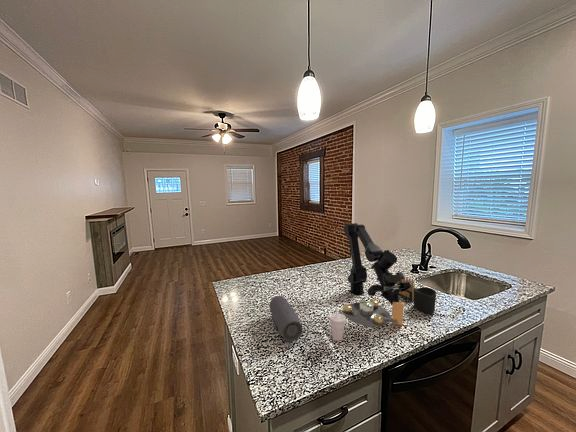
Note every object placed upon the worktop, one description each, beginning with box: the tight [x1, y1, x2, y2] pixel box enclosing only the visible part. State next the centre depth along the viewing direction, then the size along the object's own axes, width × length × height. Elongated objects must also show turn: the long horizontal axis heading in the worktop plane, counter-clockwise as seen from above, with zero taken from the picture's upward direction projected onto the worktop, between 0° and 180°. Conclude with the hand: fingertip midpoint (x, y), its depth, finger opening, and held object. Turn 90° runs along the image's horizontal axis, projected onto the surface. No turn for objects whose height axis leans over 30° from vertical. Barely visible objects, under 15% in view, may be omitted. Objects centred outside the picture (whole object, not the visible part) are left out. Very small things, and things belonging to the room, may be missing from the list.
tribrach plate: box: [342, 299, 392, 327], centre depth 113 cm, size 21×21×6 cm
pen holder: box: [412, 286, 437, 316], centre depth 117 cm, size 9×9×10 cm
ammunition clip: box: [396, 274, 415, 302], centre depth 131 cm, size 11×2×12 cm, turn 23°
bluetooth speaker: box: [269, 295, 304, 342], centre depth 104 cm, size 23×9×10 cm, turn 17°
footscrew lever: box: [373, 301, 404, 326], centre depth 104 cm, size 12×4×10 cm, turn 77°
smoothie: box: [329, 305, 347, 342], centre depth 95 cm, size 6×6×14 cm
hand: (397, 307), depth 104 cm, fingers closed
